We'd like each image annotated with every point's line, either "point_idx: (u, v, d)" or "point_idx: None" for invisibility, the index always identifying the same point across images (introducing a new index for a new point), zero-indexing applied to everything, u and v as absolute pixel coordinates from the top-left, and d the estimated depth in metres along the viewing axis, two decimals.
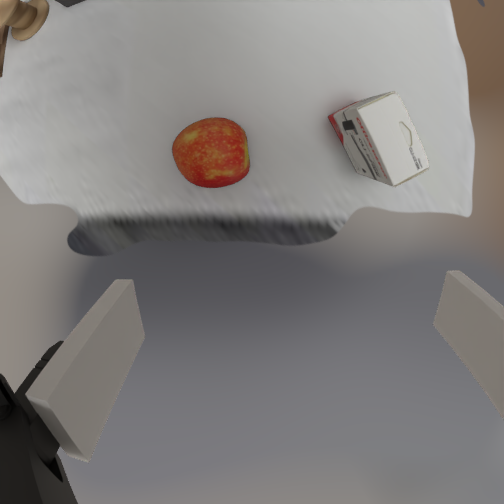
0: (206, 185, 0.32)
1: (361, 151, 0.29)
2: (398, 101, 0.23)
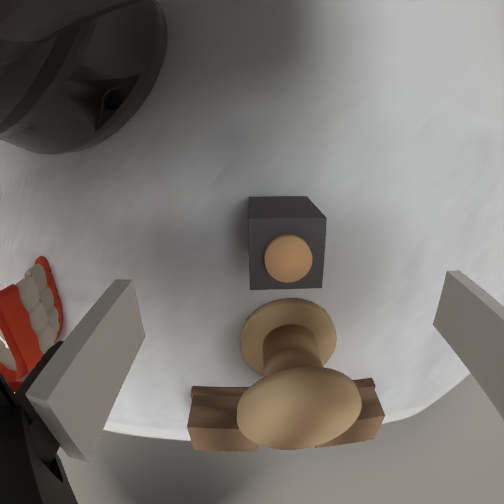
0: None
1: None
2: None
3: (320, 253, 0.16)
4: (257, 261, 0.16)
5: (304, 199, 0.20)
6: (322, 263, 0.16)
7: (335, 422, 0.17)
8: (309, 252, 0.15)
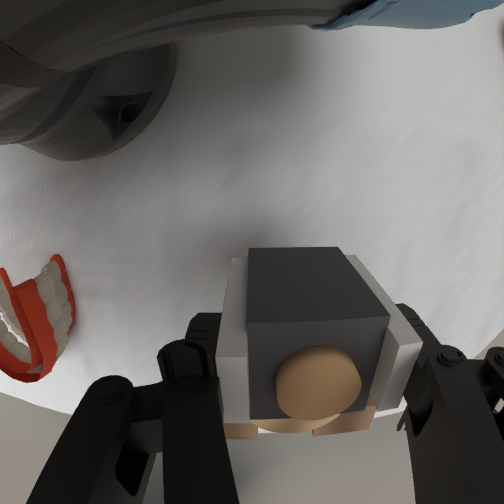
0: None
1: None
2: None
3: (371, 368, 0.08)
4: (263, 386, 0.08)
5: (337, 255, 0.12)
6: (371, 381, 0.09)
7: None
8: (357, 380, 0.07)
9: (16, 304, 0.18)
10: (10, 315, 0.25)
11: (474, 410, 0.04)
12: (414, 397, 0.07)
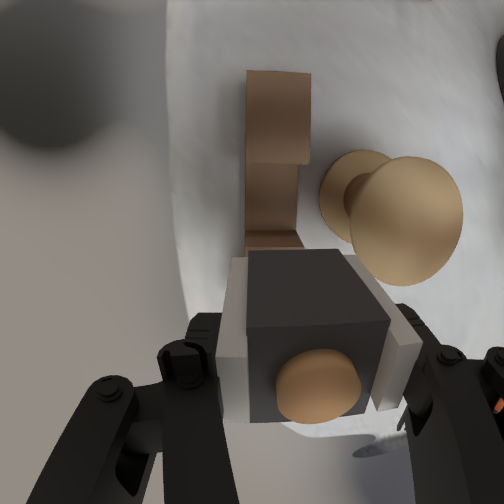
0: None
1: None
2: None
3: (371, 372, 0.08)
4: (262, 389, 0.08)
5: (337, 258, 0.12)
6: (372, 384, 0.08)
7: (396, 263, 0.17)
8: (358, 384, 0.07)
9: None
10: None
11: (474, 410, 0.04)
12: (414, 397, 0.07)
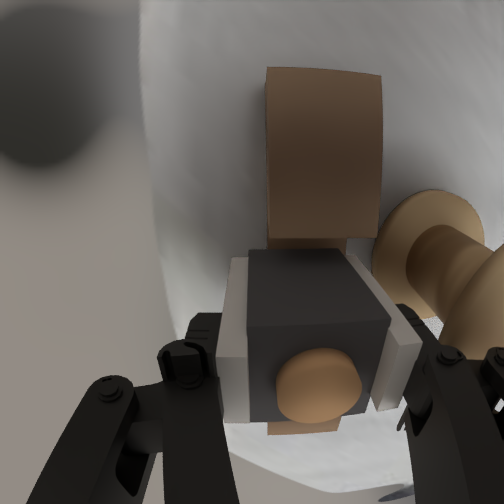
0: None
1: None
2: None
3: (372, 371, 0.08)
4: (263, 389, 0.08)
5: (337, 257, 0.12)
6: (372, 384, 0.08)
7: None
8: (358, 383, 0.07)
9: None
10: None
11: (474, 410, 0.04)
12: (414, 397, 0.07)
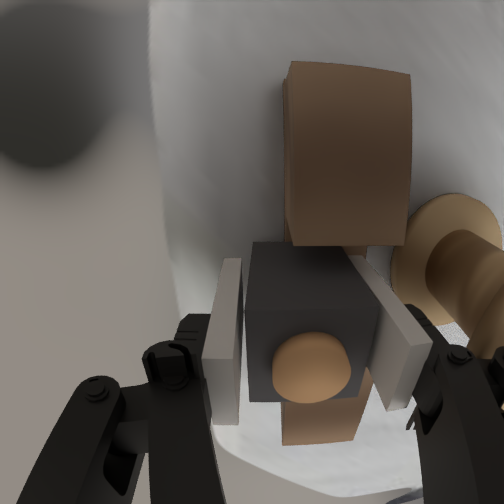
0: None
1: None
2: None
3: (362, 356, 0.09)
4: (260, 369, 0.09)
5: (336, 249, 0.13)
6: (363, 368, 0.09)
7: None
8: (347, 366, 0.08)
9: None
10: None
11: (483, 409, 0.04)
12: (424, 396, 0.07)
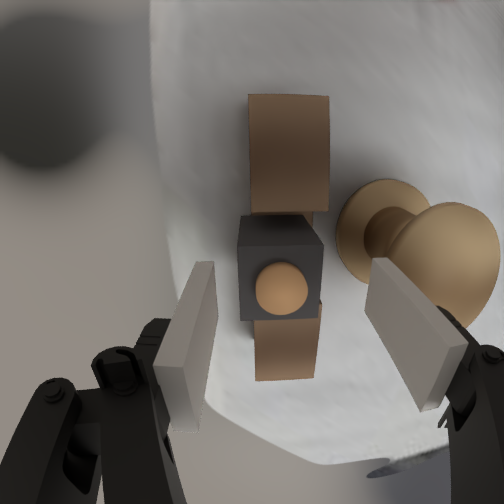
0: None
1: None
2: None
3: (316, 282, 0.15)
4: (248, 291, 0.15)
5: (300, 219, 0.18)
6: (318, 293, 0.15)
7: None
8: (304, 283, 0.14)
9: None
10: None
11: None
12: (458, 394, 0.07)
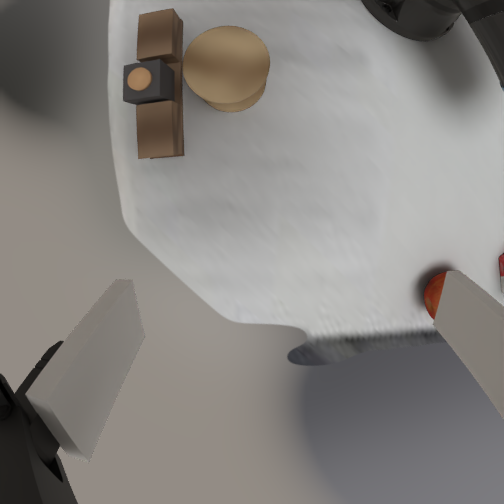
0: None
1: None
2: None
3: (157, 76, 0.25)
4: (127, 85, 0.25)
5: None
6: (159, 81, 0.25)
7: (216, 87, 0.24)
8: (148, 72, 0.24)
9: None
10: None
11: None
12: None
